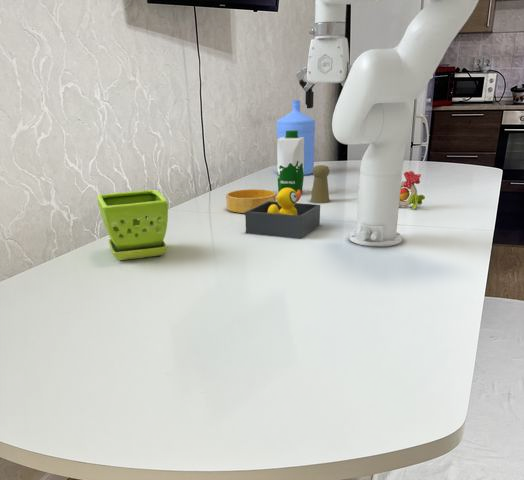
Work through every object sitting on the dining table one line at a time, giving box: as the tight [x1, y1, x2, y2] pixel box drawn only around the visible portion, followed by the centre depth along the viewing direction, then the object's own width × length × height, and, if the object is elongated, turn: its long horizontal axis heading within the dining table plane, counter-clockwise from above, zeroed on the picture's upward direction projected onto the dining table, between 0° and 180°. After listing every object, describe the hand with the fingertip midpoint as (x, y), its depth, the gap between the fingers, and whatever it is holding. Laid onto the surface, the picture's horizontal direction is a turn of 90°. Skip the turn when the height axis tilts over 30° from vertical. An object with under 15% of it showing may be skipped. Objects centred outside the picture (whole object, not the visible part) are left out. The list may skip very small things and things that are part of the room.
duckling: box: [267, 188, 302, 215], centre depth 136 cm, size 11×5×10 cm, turn 133°
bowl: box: [225, 188, 277, 214], centre depth 161 cm, size 15×15×4 cm
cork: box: [310, 164, 330, 204], centre depth 167 cm, size 6×6×11 cm
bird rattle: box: [399, 170, 426, 210], centre depth 156 cm, size 6×11×9 cm
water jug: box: [276, 99, 316, 176], centre depth 217 cm, size 16×16×28 cm
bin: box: [244, 201, 321, 239], centre depth 137 cm, size 14×15×6 cm
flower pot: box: [96, 189, 169, 261], centre depth 118 cm, size 14×14×13 cm
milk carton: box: [276, 131, 305, 193], centre depth 178 cm, size 9×9×20 cm
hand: (327, 108), depth 138 cm, fingers open, 9 cm apart
